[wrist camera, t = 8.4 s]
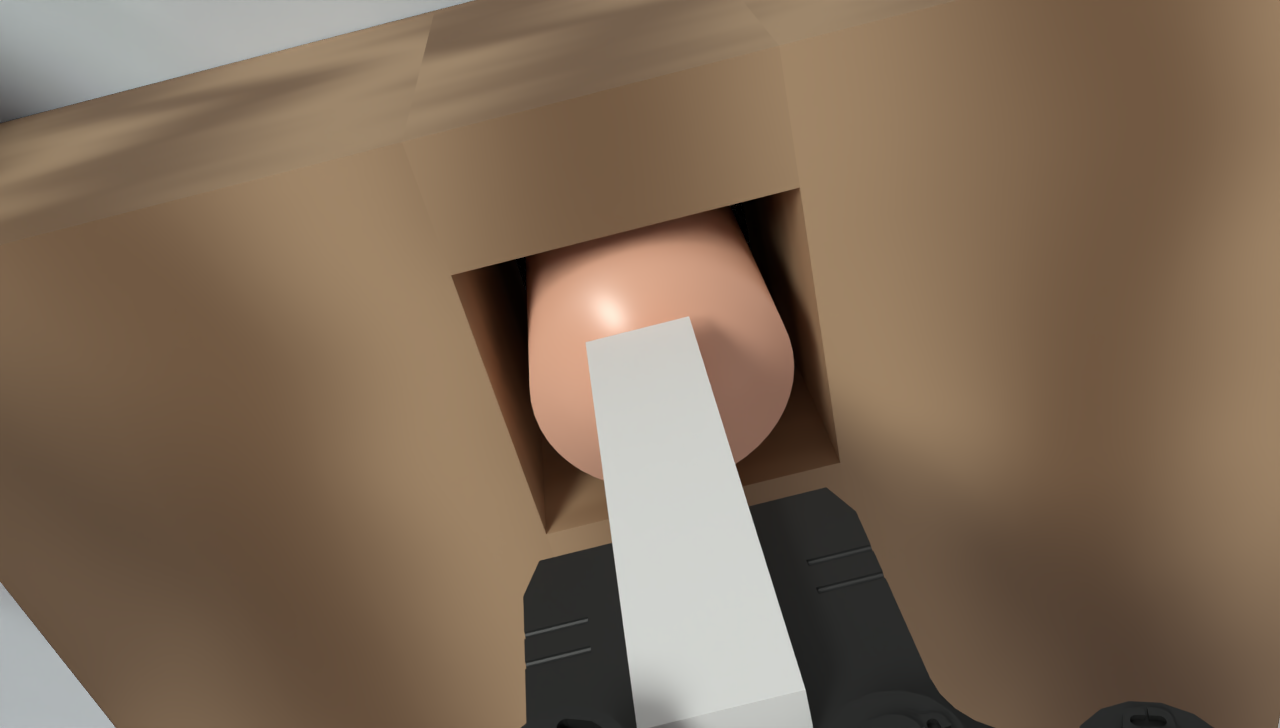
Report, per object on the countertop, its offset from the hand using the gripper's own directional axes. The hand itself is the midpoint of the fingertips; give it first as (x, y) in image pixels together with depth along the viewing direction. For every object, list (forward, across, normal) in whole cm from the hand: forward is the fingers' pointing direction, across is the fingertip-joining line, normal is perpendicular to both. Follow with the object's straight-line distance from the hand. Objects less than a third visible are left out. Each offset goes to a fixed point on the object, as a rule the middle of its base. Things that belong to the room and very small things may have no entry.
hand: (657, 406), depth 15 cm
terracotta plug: (+7, 0, 0) cm, 7 cm away
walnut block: (+8, 0, -4) cm, 9 cm away
